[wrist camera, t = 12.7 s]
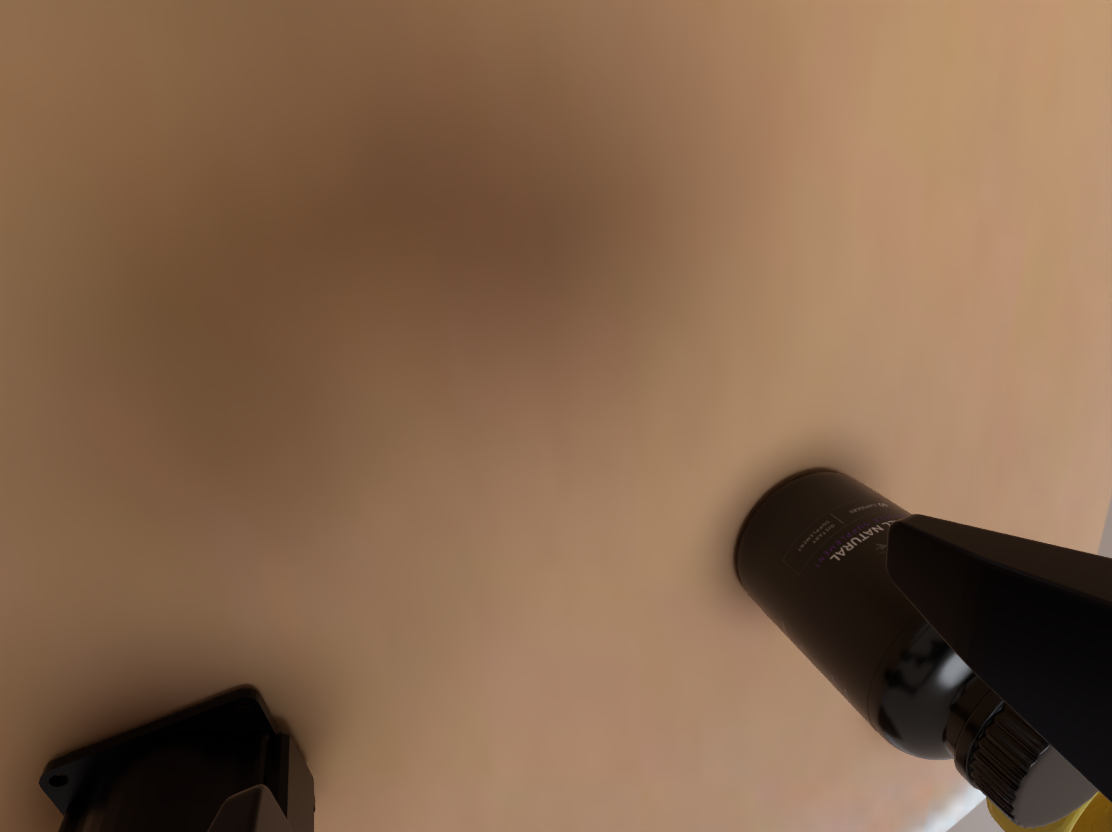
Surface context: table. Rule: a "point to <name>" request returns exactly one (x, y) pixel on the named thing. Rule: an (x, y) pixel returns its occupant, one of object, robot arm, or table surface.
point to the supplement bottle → (892, 646)
